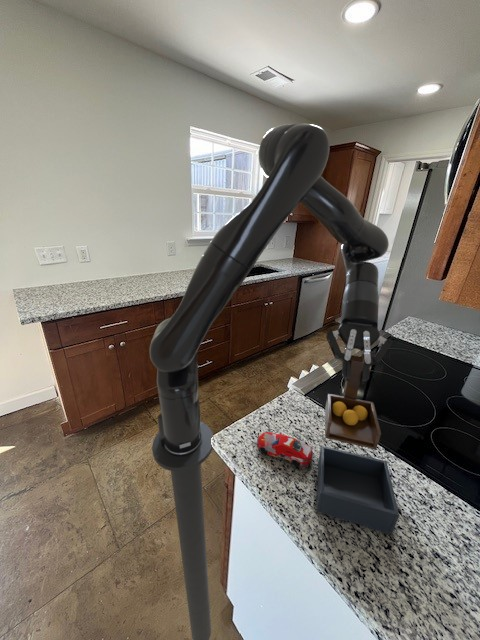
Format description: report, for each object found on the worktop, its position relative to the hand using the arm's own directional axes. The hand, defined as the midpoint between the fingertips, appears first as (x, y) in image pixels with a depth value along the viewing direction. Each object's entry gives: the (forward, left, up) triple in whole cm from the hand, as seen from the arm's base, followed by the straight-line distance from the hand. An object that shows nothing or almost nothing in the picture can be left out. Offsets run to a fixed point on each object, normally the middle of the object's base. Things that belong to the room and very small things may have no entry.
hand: (355, 381), depth 54 cm
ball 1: (-2, -1, -7) cm, 7 cm away
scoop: (0, -2, -9) cm, 9 cm away
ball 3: (+2, -1, -7) cm, 7 cm away
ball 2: (0, -3, -7) cm, 7 cm away
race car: (-13, -3, -22) cm, 25 cm away
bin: (+2, -9, -22) cm, 23 cm away
